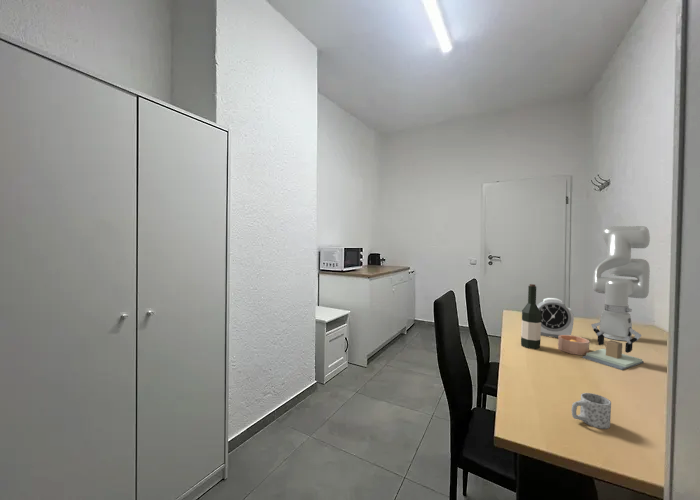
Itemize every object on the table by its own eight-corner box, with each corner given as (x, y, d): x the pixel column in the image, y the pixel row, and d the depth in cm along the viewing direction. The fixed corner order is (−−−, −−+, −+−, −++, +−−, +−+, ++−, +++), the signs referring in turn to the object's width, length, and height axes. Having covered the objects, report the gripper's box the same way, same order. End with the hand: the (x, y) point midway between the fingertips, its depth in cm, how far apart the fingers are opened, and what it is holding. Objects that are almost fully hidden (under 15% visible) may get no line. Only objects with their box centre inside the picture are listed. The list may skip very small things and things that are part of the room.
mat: (604, 351, 143) (604, 350, 143) (643, 362, 131) (643, 361, 131) (582, 357, 135) (582, 356, 135) (621, 370, 123) (621, 368, 123)
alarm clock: (532, 335, 167) (534, 298, 166) (531, 331, 174) (533, 295, 174) (573, 340, 159) (574, 301, 158) (570, 336, 166) (572, 298, 165)
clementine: (570, 346, 147) (571, 338, 147) (580, 349, 143) (580, 340, 143) (565, 347, 145) (566, 339, 145) (575, 350, 141) (575, 341, 141)
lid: (603, 350, 143) (603, 335, 143) (642, 361, 130) (643, 345, 130) (586, 355, 137) (586, 339, 136) (625, 367, 124) (626, 350, 124)
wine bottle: (544, 349, 145) (546, 285, 144) (526, 349, 145) (528, 285, 144) (534, 343, 153) (536, 283, 152) (517, 343, 153) (519, 283, 152)
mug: (596, 415, 91) (597, 392, 90) (616, 429, 84) (617, 405, 84) (563, 415, 90) (564, 392, 90) (580, 429, 84) (581, 405, 83)
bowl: (566, 344, 152) (567, 333, 152) (594, 352, 142) (594, 340, 141) (552, 348, 147) (553, 336, 147) (579, 356, 136) (580, 344, 136)
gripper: (646, 312, 127) (644, 353, 127) (597, 304, 142) (595, 340, 143) (637, 314, 123) (635, 356, 124) (588, 305, 139) (586, 343, 139)
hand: (614, 348), depth 133 cm, fingers open, 9 cm apart
